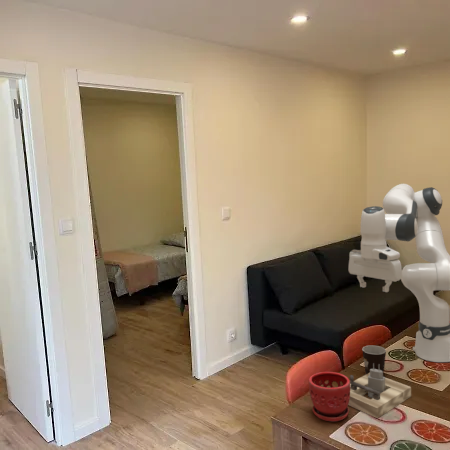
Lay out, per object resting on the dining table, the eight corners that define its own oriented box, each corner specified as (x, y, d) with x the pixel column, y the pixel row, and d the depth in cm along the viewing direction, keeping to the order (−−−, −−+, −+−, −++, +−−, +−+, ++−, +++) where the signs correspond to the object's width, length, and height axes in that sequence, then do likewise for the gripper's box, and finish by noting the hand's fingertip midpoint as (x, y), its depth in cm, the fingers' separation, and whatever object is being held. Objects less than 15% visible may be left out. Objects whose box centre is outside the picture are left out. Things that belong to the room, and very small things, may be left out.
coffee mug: (387, 380, 168) (387, 354, 167) (363, 379, 170) (363, 354, 168) (383, 366, 179) (383, 342, 178) (361, 365, 181) (360, 342, 180)
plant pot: (359, 413, 147) (358, 378, 145) (333, 429, 138) (332, 393, 137) (326, 399, 157) (325, 366, 155) (301, 413, 149) (300, 379, 147)
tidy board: (370, 380, 168) (370, 360, 167) (410, 396, 155) (410, 374, 154) (336, 399, 156) (336, 377, 155) (377, 418, 143) (377, 394, 142)
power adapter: (370, 392, 159) (369, 360, 158) (385, 396, 156) (385, 363, 155) (367, 396, 157) (367, 364, 155) (383, 400, 154) (383, 367, 152)
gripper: (344, 250, 168) (345, 286, 170) (394, 256, 152) (394, 296, 154) (354, 247, 172) (355, 282, 174) (404, 253, 156) (404, 292, 158)
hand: (374, 289), depth 164 cm, fingers open, 8 cm apart
